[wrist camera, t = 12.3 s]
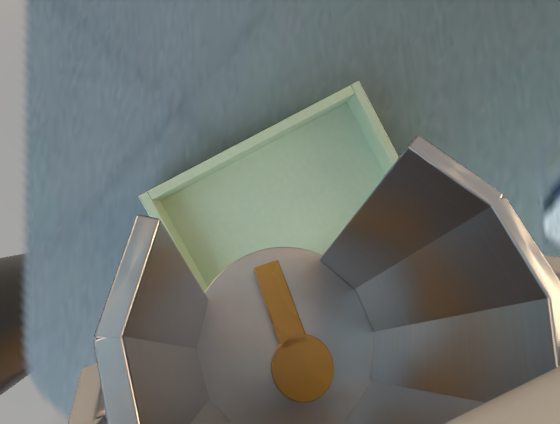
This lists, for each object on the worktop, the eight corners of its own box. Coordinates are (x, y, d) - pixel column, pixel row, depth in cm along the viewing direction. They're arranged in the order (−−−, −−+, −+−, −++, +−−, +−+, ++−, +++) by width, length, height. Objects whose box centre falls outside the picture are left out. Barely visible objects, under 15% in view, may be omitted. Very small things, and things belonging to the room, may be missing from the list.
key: (340, 386, 13) (344, 387, 12) (283, 411, 12) (285, 413, 12) (290, 257, 14) (292, 254, 14) (238, 275, 14) (238, 272, 13)
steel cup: (409, 401, 13) (685, 475, 5) (222, 489, 12) (174, 810, 3) (333, 229, 16) (435, 83, 7) (169, 283, 14) (63, 177, 6)
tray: (223, 331, 24) (220, 344, 21) (150, 197, 24) (137, 195, 21) (416, 223, 25) (434, 224, 22) (348, 93, 24) (359, 80, 22)
